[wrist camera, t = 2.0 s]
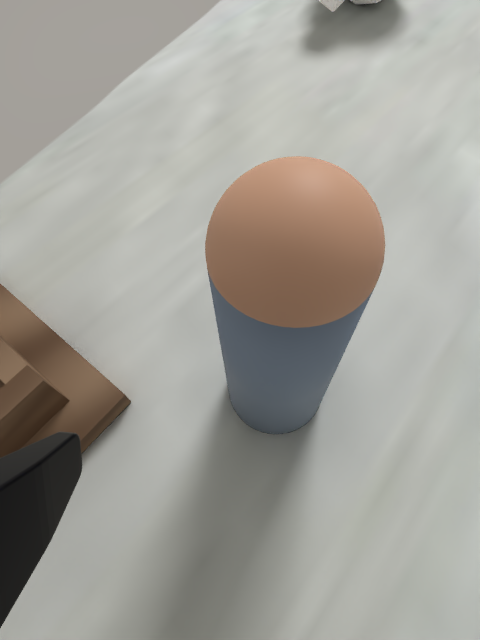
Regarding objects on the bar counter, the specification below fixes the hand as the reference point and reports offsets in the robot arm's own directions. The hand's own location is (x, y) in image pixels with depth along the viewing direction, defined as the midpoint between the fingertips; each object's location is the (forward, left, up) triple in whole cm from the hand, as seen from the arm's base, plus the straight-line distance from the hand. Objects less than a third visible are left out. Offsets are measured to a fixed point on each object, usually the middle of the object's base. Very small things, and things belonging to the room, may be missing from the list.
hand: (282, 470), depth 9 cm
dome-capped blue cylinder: (+3, -5, -12) cm, 14 cm away
